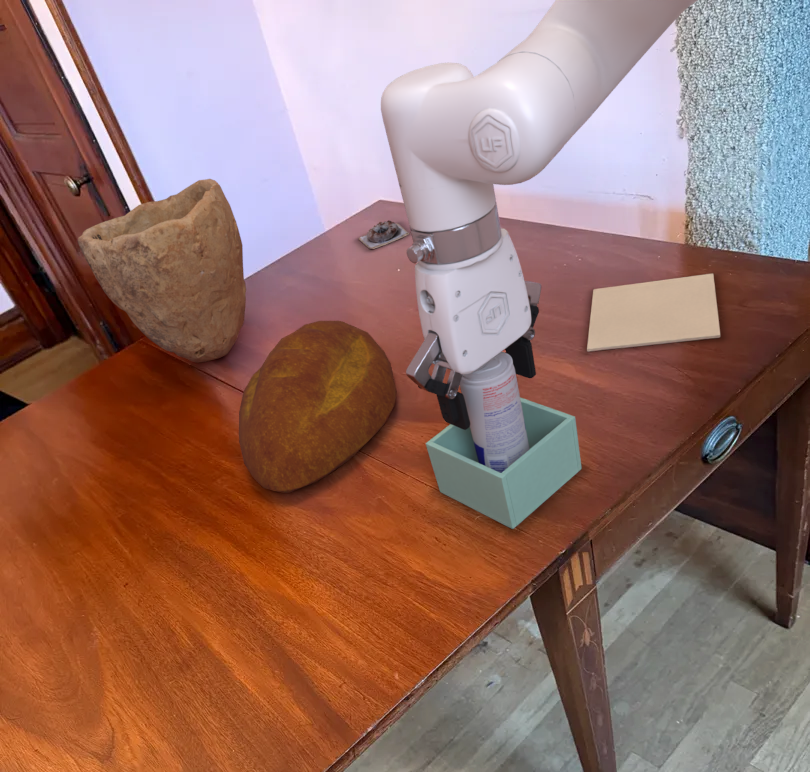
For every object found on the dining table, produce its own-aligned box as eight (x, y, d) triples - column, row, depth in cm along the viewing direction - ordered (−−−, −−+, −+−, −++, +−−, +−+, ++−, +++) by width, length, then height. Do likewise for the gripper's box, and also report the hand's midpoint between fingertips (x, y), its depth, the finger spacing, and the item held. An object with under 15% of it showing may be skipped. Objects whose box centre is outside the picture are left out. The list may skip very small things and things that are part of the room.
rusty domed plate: (369, 251, 140) (366, 240, 139) (358, 239, 146) (355, 228, 145) (410, 234, 141) (407, 224, 139) (397, 223, 147) (395, 213, 145)
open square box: (506, 438, 88) (496, 388, 84) (582, 468, 81) (575, 416, 76) (439, 492, 84) (425, 443, 80) (512, 529, 77) (501, 478, 72)
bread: (208, 505, 94) (161, 426, 86) (301, 361, 116) (271, 287, 108) (358, 504, 87) (323, 417, 78) (428, 350, 108) (407, 269, 100)
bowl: (259, 306, 135) (199, 163, 118) (299, 350, 119) (236, 190, 102) (144, 359, 131) (65, 219, 115) (169, 412, 115) (81, 257, 98)
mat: (713, 275, 102) (713, 273, 102) (720, 337, 92) (720, 334, 91) (593, 291, 108) (593, 289, 108) (587, 351, 97) (586, 349, 97)
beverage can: (543, 468, 83) (522, 350, 73) (521, 501, 80) (497, 383, 70) (498, 461, 86) (472, 346, 76) (475, 492, 83) (446, 378, 73)
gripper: (412, 289, 59) (457, 458, 70) (555, 194, 65) (575, 364, 76) (355, 273, 64) (405, 434, 75) (493, 187, 70) (520, 347, 81)
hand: (491, 398), depth 76 cm, fingers open, 9 cm apart
